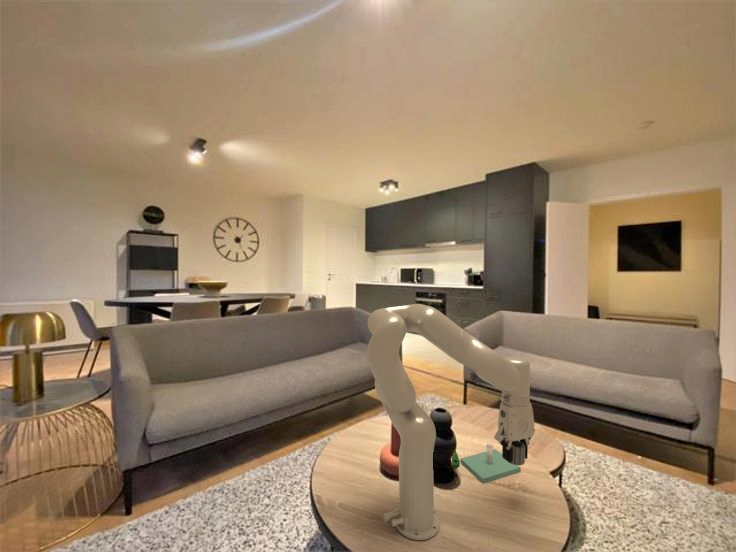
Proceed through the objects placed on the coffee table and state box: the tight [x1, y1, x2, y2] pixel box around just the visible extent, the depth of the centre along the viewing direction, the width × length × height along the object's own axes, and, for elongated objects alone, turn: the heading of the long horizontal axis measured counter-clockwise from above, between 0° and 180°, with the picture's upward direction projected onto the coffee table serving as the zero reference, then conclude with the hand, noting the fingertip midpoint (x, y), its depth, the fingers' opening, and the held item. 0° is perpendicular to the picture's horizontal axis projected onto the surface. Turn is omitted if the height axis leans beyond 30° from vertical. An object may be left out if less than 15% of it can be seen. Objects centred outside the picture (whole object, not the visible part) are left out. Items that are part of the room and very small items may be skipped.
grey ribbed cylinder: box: [506, 439, 526, 466], centre depth 95 cm, size 5×5×5 cm
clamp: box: [452, 450, 461, 469], centre depth 110 cm, size 12×6×9 cm, turn 85°
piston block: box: [459, 442, 522, 484], centre depth 112 cm, size 16×12×8 cm
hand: (514, 457), depth 95 cm, fingers closed on grey ribbed cylinder, 5 cm apart
